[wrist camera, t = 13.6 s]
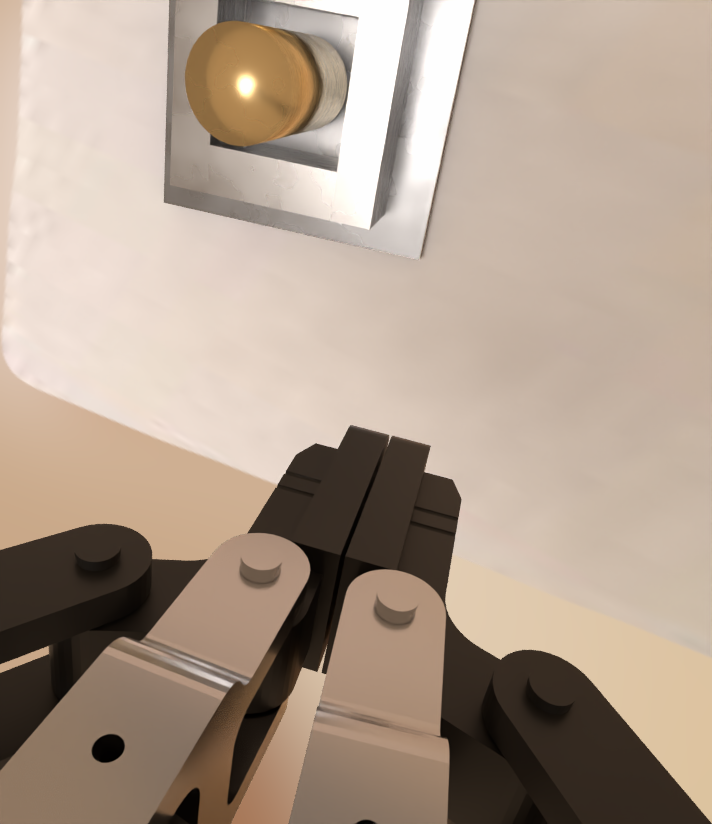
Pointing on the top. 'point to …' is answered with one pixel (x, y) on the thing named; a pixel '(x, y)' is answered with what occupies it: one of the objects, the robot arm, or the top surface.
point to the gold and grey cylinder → (263, 82)
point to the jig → (341, 138)
